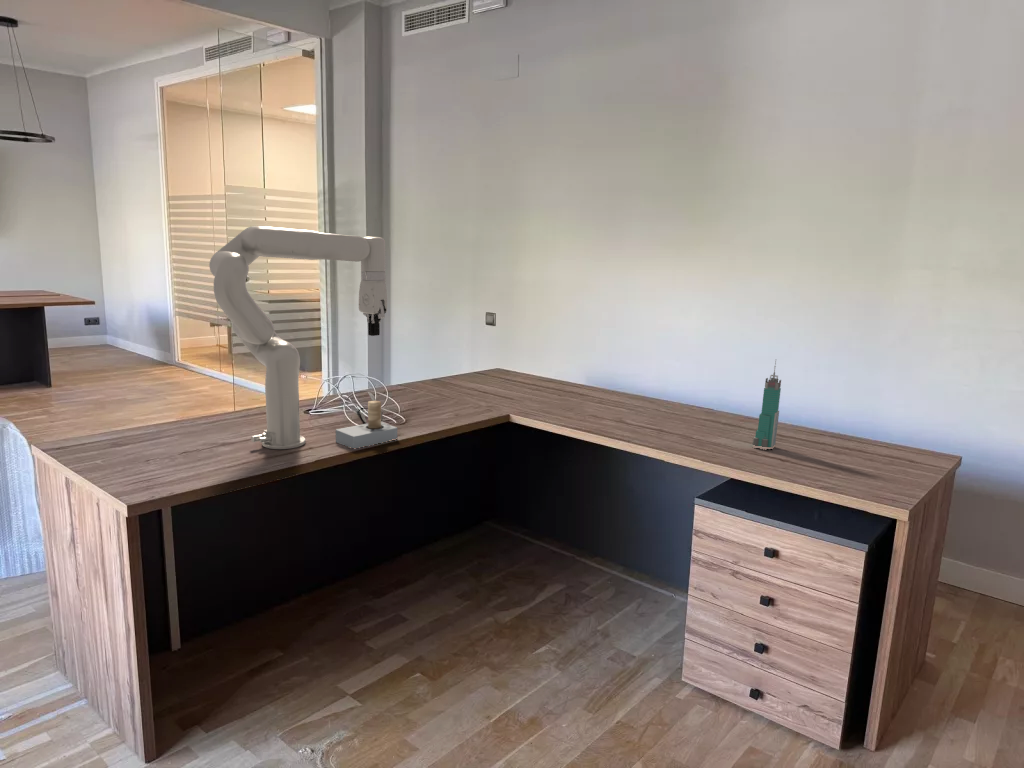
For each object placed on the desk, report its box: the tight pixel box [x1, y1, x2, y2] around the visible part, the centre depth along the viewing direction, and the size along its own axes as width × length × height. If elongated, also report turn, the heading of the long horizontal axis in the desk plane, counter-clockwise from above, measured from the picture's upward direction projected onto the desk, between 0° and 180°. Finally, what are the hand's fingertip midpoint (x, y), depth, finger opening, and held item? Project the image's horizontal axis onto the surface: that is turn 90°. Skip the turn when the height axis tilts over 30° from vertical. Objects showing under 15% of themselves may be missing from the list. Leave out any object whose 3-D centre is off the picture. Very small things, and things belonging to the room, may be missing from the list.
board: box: [335, 421, 398, 449], centre depth 219 cm, size 16×10×4 cm, turn 135°
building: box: [752, 360, 782, 447], centre depth 224 cm, size 6×6×30 cm
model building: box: [355, 391, 383, 424], centre depth 248 cm, size 7×7×25 cm
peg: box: [367, 400, 382, 429], centre depth 221 cm, size 4×4×12 cm
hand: (373, 335), depth 224 cm, fingers closed
